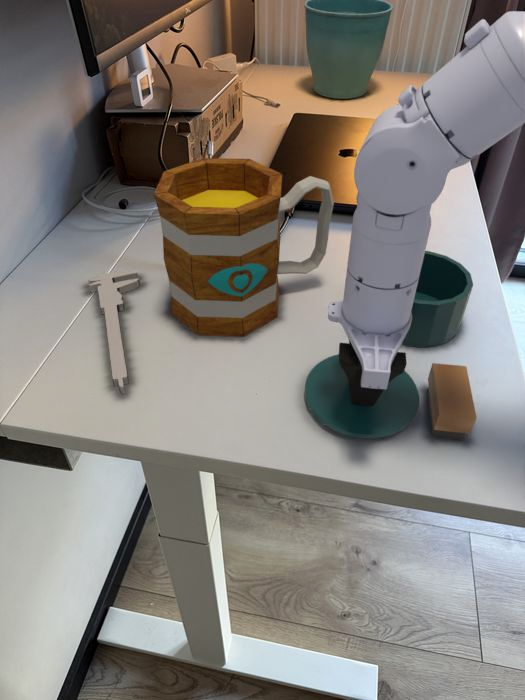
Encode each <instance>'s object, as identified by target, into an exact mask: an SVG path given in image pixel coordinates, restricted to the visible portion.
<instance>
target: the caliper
mask: <svg viewBox="0 0 525 700" xmlns="http://www.w3.org/2000/svg"><path fill="white" fill-rule="evenodd" d="M96 276H97V277H95V278H90V279H88V280H87V281H88V288H89V291H90V293H93V292H98V299H99V307H100V312H101V314H102V315H104V318H105V325H106V326H105V327H106V335H107V343H108V351H109V360H110V368H111V375H112V382H113V385H114V387H118V388H119V391H120V393H122V395H125V394H126V388H125V385H128V384H129V383H130V379H129V373H128V368H127V363H126V362H127V361H126V356H125V355H126V354H125V349H124V343H123V335H122V330H121V329H122V328H121V322H120V315H119V312H123V311H125V304H124V298H123V295H122V294H124V293H127V292H130V291H132V290H135V289H138V288H139V287H141V282H140V277H139V273H138V271H137V270H124V271H121V270H120V271H112V272H111V271H110V272H107V273H102V274H97V275H96Z"/></svg>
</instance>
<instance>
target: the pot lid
mask: <svg viewBox="0 0 525 700" xmlns="http://www.w3.org/2000/svg"><path fill="white" fill-rule="evenodd" d="M304 396H305V401H306V405H307V407H308V408H309V410H310V412H311V413H312V415H314V417H315V418H316V419H317V420H318V421H319V422H321V423H322V424H323V425H324V426H327V427H328V428H329V429H331V430H333V431H335V432H336V433H338V434H339V433H340V434H342V435H345V436H348V437H352V438H359V439H379V438H385V437H388V436H392V435H394V434H396V433H398V432H400V431H402V430H404V429H405V428H406V427H407V426H409V425H410V423H412V421H413V420H414V418H415V417H416V414H417V412H418V409H419V405H420V395H419V390H418V388H417V385H416V383H415V381H414V380H413V378H412V377H411V375H410V374H409V373H408V372H407V371H406V370H404V372H403V373H402V374H400V375H398V376H397V377H395V378H394V379H393V380H391V381H390V382H389V383H388V386H387V389H384V390H383V392H382V393H381V395H380V397H379V398H378V400H377V402H376V403H375V404H374V406H362V405H353V404H352V403H351V399H350V392H349V382H348V378H347V376H346V374H345V372H344V370H343V369H342V368H341V366H340V363H339V353H337V354H334V355H331V356H329V357H326V358H324V359H322V360H321V361H320V362H318V363H317V364H316V365H315V366H314V367H313V368H312V369H311V370H310V372H309V373H308V375H307V377H306V379H305V383H304Z"/></svg>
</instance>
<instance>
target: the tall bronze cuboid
mask: <svg viewBox="0 0 525 700" xmlns="http://www.w3.org/2000/svg"><path fill="white" fill-rule="evenodd" d="M427 383H428V387H427V398H428V406H429V415H430V424H431V431H432V437H434V438H443V439H452V440H461V441H464V440H465V438H466V435H467V434H471V432H472V431H473V427H474V426H475V423H476V421H477V413H476V408H475V407H476V406H475V402H474V399H473V393H472V388H471V383H470V378H469V373H468V368H467V366H466V365H459V364H445V363H435V362H433V363H431V366H430V370H429V373H428V377H427Z"/></svg>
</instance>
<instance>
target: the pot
mask: <svg viewBox="0 0 525 700" xmlns="http://www.w3.org/2000/svg"><path fill="white" fill-rule="evenodd" d="M473 287H474V282H473V278H472V274H471V272H470V271H469V270H468V269H467V268H466V267H465V266H464V265H463V264H462V263H461V262H459V261H457V260H455V259H453V258H451V257H449V256H447V255H444V254H441V253H438V252H434V251H430V250H425V254H424V258H423V262H422V267H421V271H420V276H419V280H418V285H417V289H416V293H415V297H414V302H413V306H412V310H411V313H412V321H411V326H410V328H409V330H408V332H407V334H406V336H405V338H404V340H403V342H402V344H401V345H403V346H409V347H416V348H429V347H430V348H431V347H437V346H441V345H443V344H446V343H447V342H449V341H451V340H452V339H454V337H455V336H456V335H457V333H458V332H459V329H460V327H461V325H462V323H463V318H464V316H465V312H466V310H467V306H468V303H469V300H470V297H471V294H472V291H473Z"/></svg>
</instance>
